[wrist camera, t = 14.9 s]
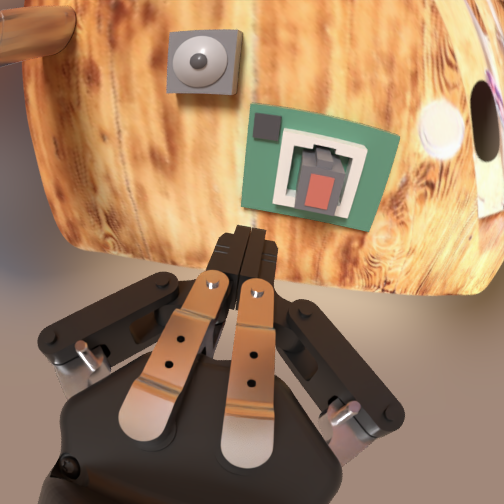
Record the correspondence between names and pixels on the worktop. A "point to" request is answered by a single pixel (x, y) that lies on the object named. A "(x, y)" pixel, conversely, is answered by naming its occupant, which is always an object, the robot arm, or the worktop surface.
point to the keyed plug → (319, 181)
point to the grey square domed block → (204, 61)
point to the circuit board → (307, 137)
